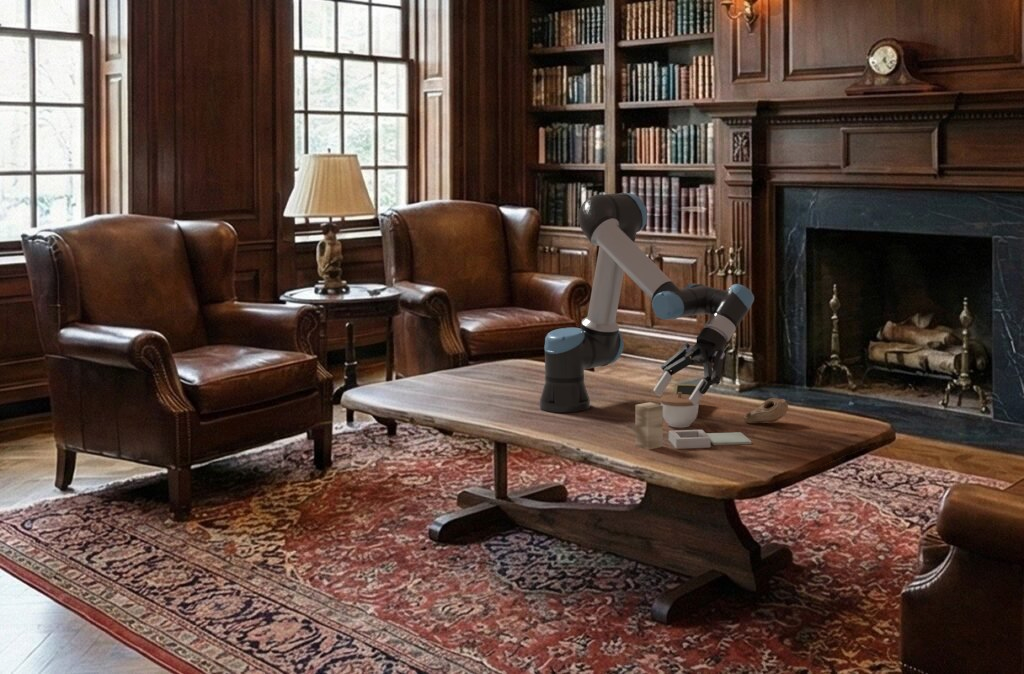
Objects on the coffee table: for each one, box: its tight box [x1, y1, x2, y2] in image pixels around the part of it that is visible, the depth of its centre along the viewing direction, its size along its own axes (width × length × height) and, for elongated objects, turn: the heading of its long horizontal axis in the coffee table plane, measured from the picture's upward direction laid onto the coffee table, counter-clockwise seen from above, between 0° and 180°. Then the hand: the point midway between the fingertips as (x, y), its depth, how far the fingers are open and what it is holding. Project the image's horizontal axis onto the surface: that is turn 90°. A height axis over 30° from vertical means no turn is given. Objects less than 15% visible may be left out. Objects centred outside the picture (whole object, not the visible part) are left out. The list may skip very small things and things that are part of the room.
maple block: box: [634, 401, 664, 451], centre depth 294 cm, size 5×5×11 cm
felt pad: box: [705, 431, 752, 446], centre depth 300 cm, size 10×10×1 cm
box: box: [672, 383, 698, 419], centre depth 332 cm, size 8×22×5 cm, turn 170°
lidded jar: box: [659, 392, 700, 428], centre depth 316 cm, size 11×11×9 cm
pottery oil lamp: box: [743, 397, 789, 424], centre depth 317 cm, size 9×12×7 cm
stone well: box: [668, 429, 712, 450], centre depth 297 cm, size 9×9×2 cm
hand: (674, 397), depth 297 cm, fingers open, 13 cm apart
